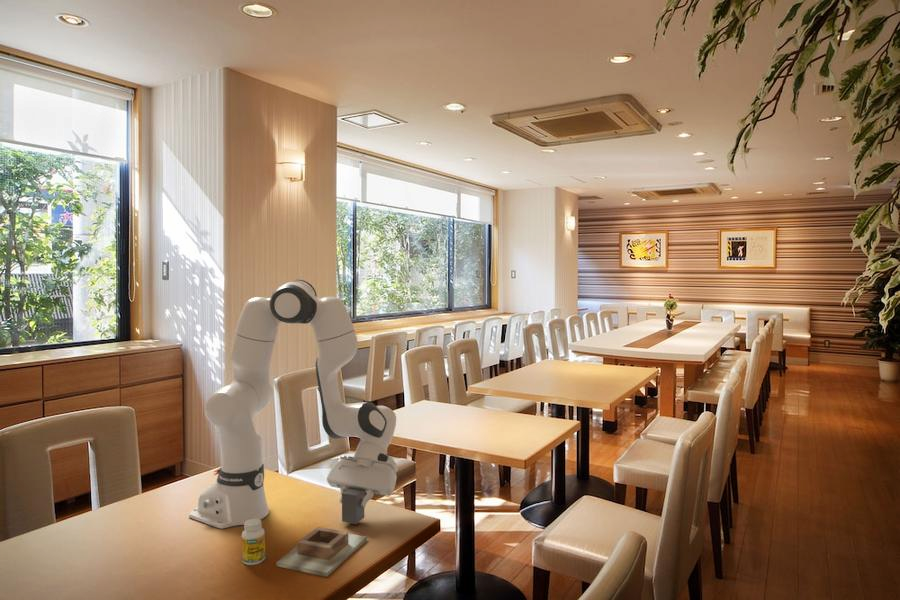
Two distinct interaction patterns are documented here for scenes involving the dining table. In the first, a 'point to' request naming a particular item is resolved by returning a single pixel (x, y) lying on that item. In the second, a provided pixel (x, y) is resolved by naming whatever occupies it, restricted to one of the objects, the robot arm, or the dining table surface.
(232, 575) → the dining table surface
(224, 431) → the robot arm
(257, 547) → the supplement bottle
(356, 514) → the plug block
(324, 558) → the socket holder
